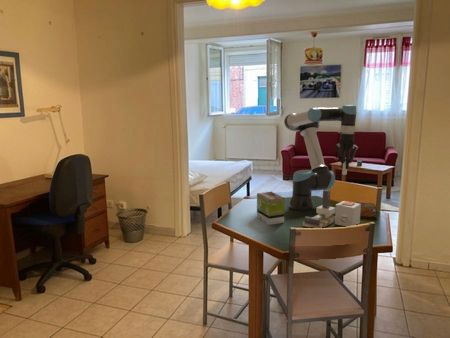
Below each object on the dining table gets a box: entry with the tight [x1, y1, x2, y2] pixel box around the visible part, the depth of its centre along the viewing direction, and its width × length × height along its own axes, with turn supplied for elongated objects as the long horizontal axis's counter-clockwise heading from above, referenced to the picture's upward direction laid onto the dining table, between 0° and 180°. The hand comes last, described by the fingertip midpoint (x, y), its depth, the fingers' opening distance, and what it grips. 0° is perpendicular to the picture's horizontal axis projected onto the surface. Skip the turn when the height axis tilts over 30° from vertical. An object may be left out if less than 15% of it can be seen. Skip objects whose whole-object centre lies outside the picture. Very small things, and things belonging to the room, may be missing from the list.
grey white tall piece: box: [315, 189, 336, 218], centre depth 217 cm, size 7×8×15 cm
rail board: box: [302, 213, 335, 229], centre depth 215 cm, size 24×10×5 cm, turn 140°
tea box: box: [256, 191, 286, 226], centre depth 218 cm, size 15×10×15 cm
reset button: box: [342, 201, 355, 206], centre depth 211 cm, size 5×5×3 cm
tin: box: [353, 201, 378, 218], centre depth 226 cm, size 15×3×8 cm, turn 68°
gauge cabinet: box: [334, 200, 361, 227], centre depth 212 cm, size 10×11×11 cm
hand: (344, 174), depth 220 cm, fingers closed
